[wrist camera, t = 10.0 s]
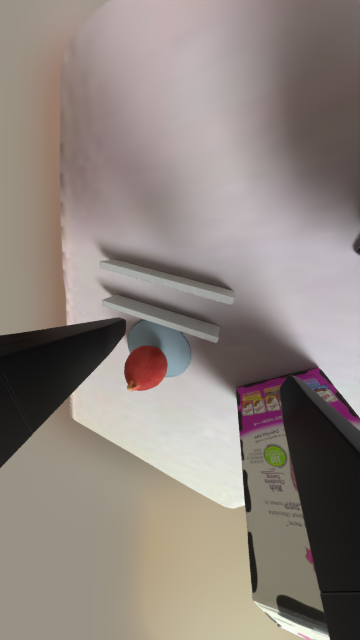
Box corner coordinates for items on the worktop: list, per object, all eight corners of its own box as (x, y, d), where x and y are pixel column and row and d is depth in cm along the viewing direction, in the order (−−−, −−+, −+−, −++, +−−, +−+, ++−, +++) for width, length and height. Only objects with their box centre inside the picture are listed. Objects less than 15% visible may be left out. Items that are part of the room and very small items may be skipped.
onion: (171, 369, 25) (150, 415, 18) (141, 358, 26) (109, 398, 19) (177, 341, 22) (154, 383, 15) (142, 330, 23) (106, 364, 16)
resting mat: (198, 332, 21) (198, 334, 21) (183, 383, 26) (182, 385, 26) (130, 310, 23) (128, 311, 23) (128, 362, 28) (126, 364, 28)
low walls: (233, 290, 18) (234, 297, 15) (218, 331, 20) (216, 343, 18) (116, 259, 20) (99, 261, 18) (116, 299, 23) (102, 305, 20)
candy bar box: (249, 408, 24) (281, 632, 10) (235, 386, 23) (246, 599, 9) (335, 394, 19) (642, 804, 5) (320, 365, 18) (648, 771, 4)
